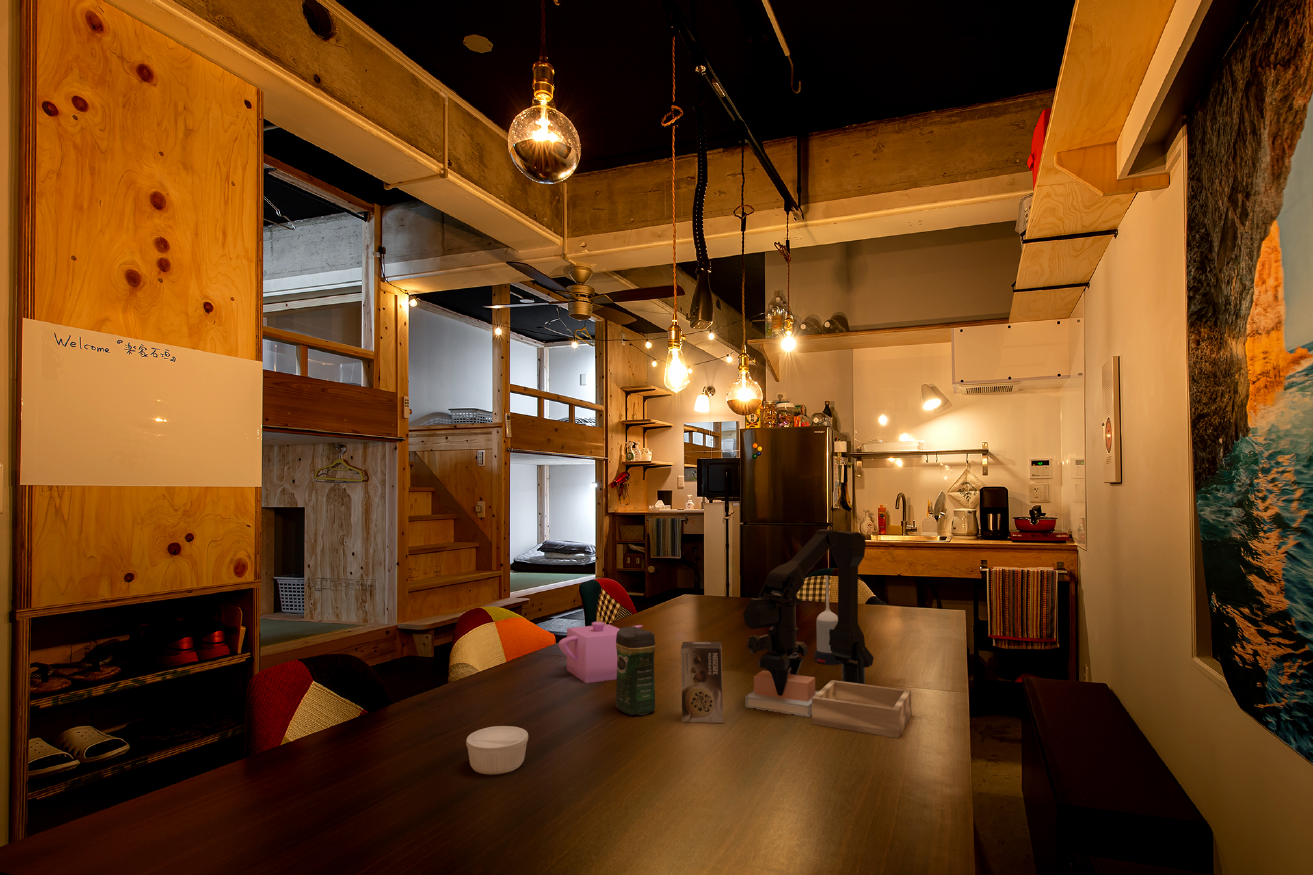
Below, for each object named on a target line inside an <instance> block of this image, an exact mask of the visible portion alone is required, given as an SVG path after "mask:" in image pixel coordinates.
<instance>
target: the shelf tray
mask: <svg viewBox="0 0 1313 875" xmlns="http://www.w3.org/2000/svg"><path fill="white" fill-rule="evenodd" d="M865 684H866V683H865ZM865 684H857V683H850V682H842V680H840V681H839V680H834V679H832V680H830V681H829V682H828V683H827V684H826V685H825V686H823V688H821V689H820V690H819V691H818V693H817V694H816V695H815V696H814V697H813V698H812V714H811V716H812V717H811V719H812V723H811V724H812V725H813V726H814V725H815V726H822V727H827V728H833V727H834V729H839V730H840V729H841V730H845V729H846V731H853V732H859V733H863V734H872V735H876V736H882V737H889V738H894V739H895V738H896V739H899V738H900V737H901V735H902V734H903V732H904V730H905V728H906V726H907V725H908V724H909V723H908V722H909V721H910V720H911V717H912V715H913V713H912V690H910V689H902V688H894V687H886V686H879V685H873V684H872V685H871V684H868V685H865Z"/></svg>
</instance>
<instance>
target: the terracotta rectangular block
mask: <svg viewBox="0 0 1313 875" xmlns="http://www.w3.org/2000/svg"><path fill="white" fill-rule="evenodd" d="M753 691H754V694H760V695H767V696H774V697H781V698H788V699H794V700H801V701H809V700H810V699H811V698H812V697H813V696H815V691H816V677H815V676H806V675H799V674H797V675H793V674H789V677H788V680H787V684H786V687H785V690H784V693H783V695H782V696H780V695H778V694H777V691H776V687H775V684H774V681H773V677H772V675H771V673H770V672H769V671H768V670H761V671H760V672H758V673H756V674H755V675H753Z"/></svg>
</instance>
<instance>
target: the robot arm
mask: <svg viewBox="0 0 1313 875" xmlns="http://www.w3.org/2000/svg"><path fill="white" fill-rule="evenodd" d="M866 545H867V543H866V538H865V537H864V535H863V534H862V533H861V532H858V531H848V530H847V531H844V530H842V531H841V530H839V531H838V530H837V531H836V530H833V529H824V528H823V529H818V530H816V531H815V532H814V535H813V536H812V538H810V539H809V540H808V542H806V543H805V544H804V546H803V547H802V548H801V549H800V550H799V551H798V552H797V553H796V554H795V555H794V556H793V557H792V558H791V559H790V560H788V562H785V563H783V564H780V565H778V566H776V567H775V568H773V569H772V570H771V571H770V572H769V573H767V575H766V580H765V582H764V584H763V586H762V588H761V590H760V592H759V593H758V596H757V598H752V597H751V598H749V603H748V604H747V605H746V606H745V607H744V610H743V614H742V616H743V621H744V624H745V625H746V626H747V628H748V629H750V630H757V629H764V628H769V629H768V630H767V634H763V635H760V636H758V635H757V634H754V635H751V636H749V637H748V640H747V641H746V643H747V645H746V648H747V649H748V650H750V653H751V655H754V654H757V653H759V652H761V651H765V650H766V652H765V653H762V655H761V656H759V657H758V668H762V669H765V670H766V671H769V672H770V673H771V675H772V677H773V681H774V684H775V687H776V691H777V694H778V695H780V696H782V695H783V693H784V690H785V687H786V684H787V680H788V677H789V674H793V675H798V672H799V670H800V668H801V666H802V664H803V661H804V659H805V656H807V655H808V652H809V651H808V645H807V643H805V642H804V641H797V634H798V633H799V627H797V626H796V625H797V622H796V621H797V619H796V617H797V616H796V610H797V609H796V605H802V604H803V601H802V600H801V599H800V598H798V596H797V595H798V593H799V591H801V589H802V587H803V586H804V585H805V577H806V575H807V574H808V572H810V570H812V568H813V567H814V566H815V565H816V564H817V563H818V562H819V561H820V560H821V559H822V557H823V556H824V555H825V554H826V553H827V552H828V551H829V550H830V549H831V553H832V557H833V559H834V560H835V563H836V564H837V573H838V574H837V617H838V623H837V624H836V626H835V628H834V629H830V631H829V637H830V639H829V645H830V649H831V652H832V654H833V657H834V661H836V662H841V663H842V664H841V681H842V682H850V683H857V684H865V685H869V684H868V683H866V668H870V667H872V666H873V664H874V658H875V657H874V655H873V654H872V653H871V652H870V651H869V648H867V647H866V641H865V635H864V633H863V631H862V629H861V627H860V625H859V621H858V620H859V618H858V617H859V566H860V564H861V563H862V561H863V560H864V558H865V554H866ZM799 654H801V656H799Z"/></svg>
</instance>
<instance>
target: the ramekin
mask: <svg viewBox="0 0 1313 875" xmlns="http://www.w3.org/2000/svg"><path fill="white" fill-rule="evenodd" d="M528 741H529V734H528V731H527V730H525V729H524V728H521V727H518V726H512V725H509V726H508V725H500V726H499V725H497V726H489V727H485V728H482V729H478V730H476V731H474V732H471V733H470V734H469V735H468V736H467V738H466V740H465V744H466V747H467V753H468V760H469V764H470V767H471V768H472V770H474V771H475V772H476V773H479V774H483V775H501V774H506V773H510V772H513V771H516V770H517V769H519V768H520V766H522V764H523V762H524V761H525V757H526V749H527V743H528Z"/></svg>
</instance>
